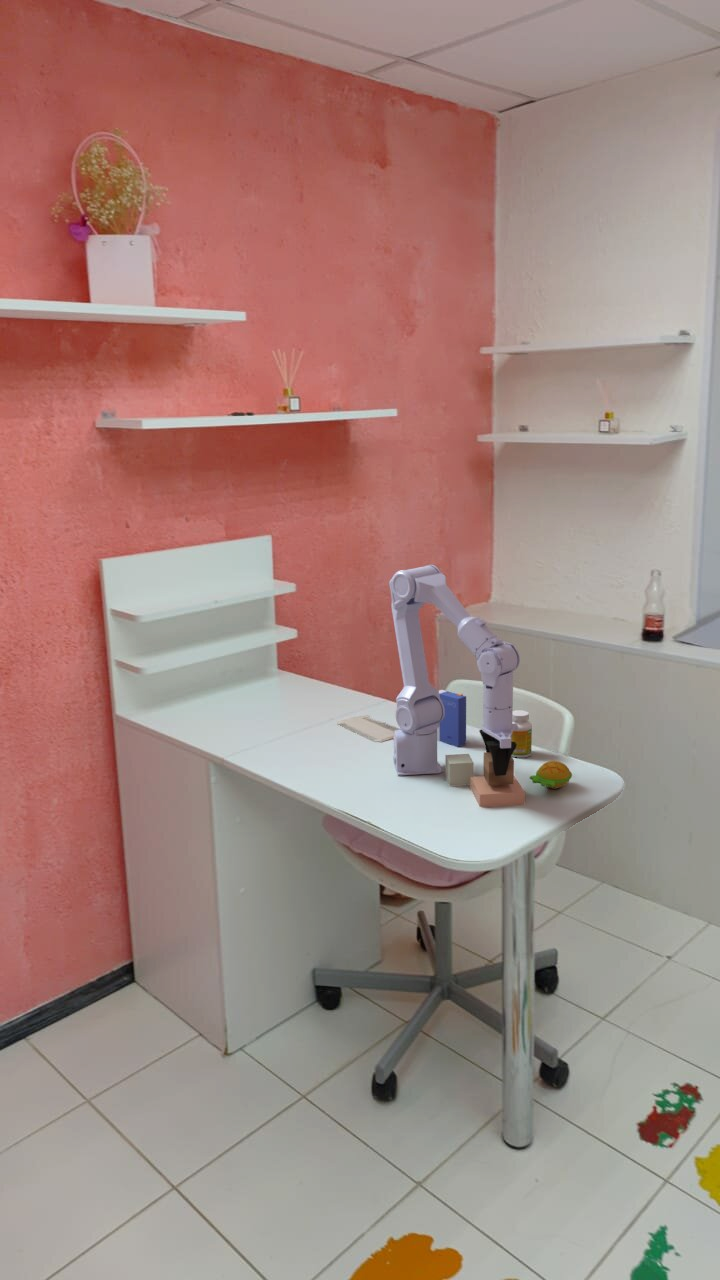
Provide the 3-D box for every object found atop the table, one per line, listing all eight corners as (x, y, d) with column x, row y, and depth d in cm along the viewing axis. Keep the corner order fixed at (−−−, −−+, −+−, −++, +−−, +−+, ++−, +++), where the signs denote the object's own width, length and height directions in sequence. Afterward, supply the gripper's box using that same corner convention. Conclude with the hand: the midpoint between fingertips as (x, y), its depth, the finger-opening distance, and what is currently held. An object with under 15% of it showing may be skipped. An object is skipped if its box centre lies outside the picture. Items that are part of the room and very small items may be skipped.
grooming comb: (411, 734, 230) (411, 731, 230) (377, 745, 225) (377, 741, 225) (366, 716, 245) (366, 713, 245) (333, 725, 239) (333, 722, 239)
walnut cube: (488, 785, 190) (489, 761, 189) (483, 775, 195) (483, 752, 194) (513, 784, 191) (514, 760, 190) (507, 774, 196) (508, 751, 194)
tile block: (479, 808, 189) (479, 794, 189) (470, 790, 198) (470, 776, 197) (524, 806, 190) (524, 792, 189) (513, 788, 199) (513, 774, 198)
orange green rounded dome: (578, 785, 198) (579, 760, 197) (552, 800, 191) (553, 775, 190) (549, 776, 203) (550, 753, 202) (522, 791, 196) (523, 767, 194)
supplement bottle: (530, 759, 213) (531, 717, 210) (506, 757, 214) (506, 716, 211) (531, 750, 218) (532, 709, 216) (507, 749, 219) (508, 708, 217)
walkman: (466, 744, 223) (466, 694, 220) (458, 747, 221) (458, 697, 218) (440, 736, 228) (440, 687, 225) (433, 739, 226) (432, 690, 224)
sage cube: (449, 786, 200) (449, 763, 198) (445, 777, 204) (445, 754, 203) (473, 785, 200) (473, 762, 199) (468, 775, 205) (468, 753, 204)
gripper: (527, 715, 182) (525, 782, 186) (509, 692, 196) (508, 755, 200) (490, 717, 182) (489, 784, 185) (475, 694, 196) (474, 757, 199)
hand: (497, 769), depth 193 cm, fingers closed on walnut cube, 5 cm apart
